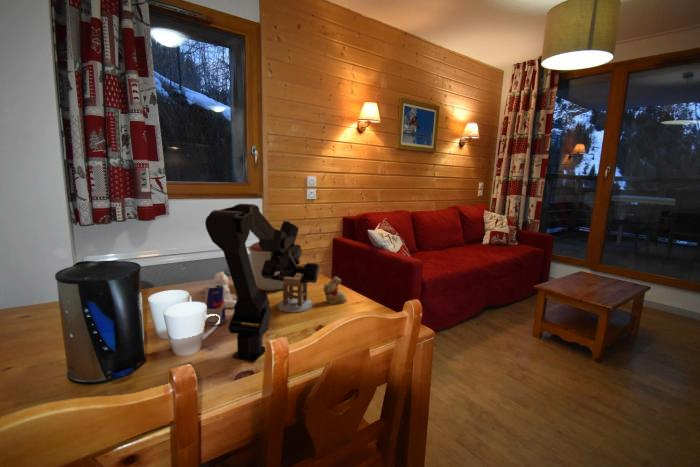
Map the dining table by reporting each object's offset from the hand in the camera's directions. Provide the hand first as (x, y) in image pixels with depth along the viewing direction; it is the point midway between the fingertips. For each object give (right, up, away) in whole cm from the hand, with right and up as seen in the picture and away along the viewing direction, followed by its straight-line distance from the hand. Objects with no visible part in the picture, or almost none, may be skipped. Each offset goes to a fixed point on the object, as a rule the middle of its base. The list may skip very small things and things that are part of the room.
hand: (296, 282), depth 117 cm
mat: (0, -8, 0) cm, 8 cm away
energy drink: (-23, -10, -14) cm, 28 cm away
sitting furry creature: (-25, -8, -1) cm, 26 cm away
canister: (-13, -5, +18) cm, 23 cm away
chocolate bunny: (+13, -8, +5) cm, 16 cm away
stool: (0, -7, 0) cm, 7 cm away
